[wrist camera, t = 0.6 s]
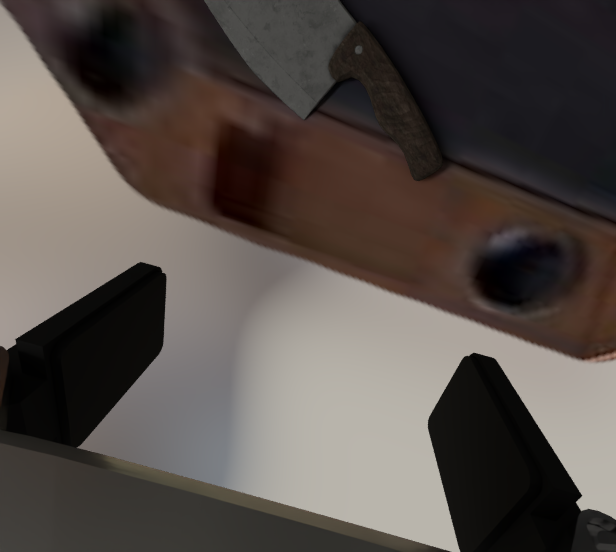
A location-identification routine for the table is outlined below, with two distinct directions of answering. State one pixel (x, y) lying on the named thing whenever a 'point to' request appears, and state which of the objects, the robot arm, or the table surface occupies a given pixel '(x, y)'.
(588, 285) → the table surface
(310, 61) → the cleaver
